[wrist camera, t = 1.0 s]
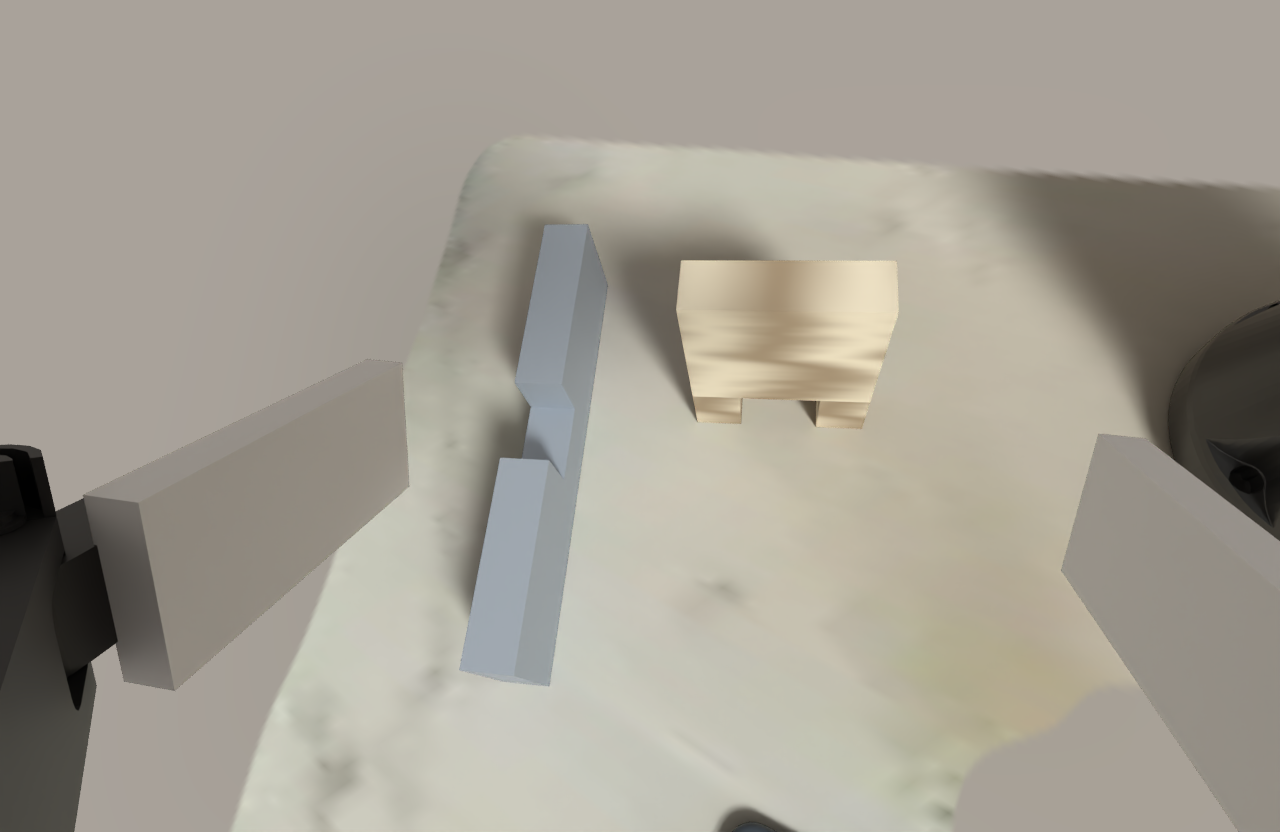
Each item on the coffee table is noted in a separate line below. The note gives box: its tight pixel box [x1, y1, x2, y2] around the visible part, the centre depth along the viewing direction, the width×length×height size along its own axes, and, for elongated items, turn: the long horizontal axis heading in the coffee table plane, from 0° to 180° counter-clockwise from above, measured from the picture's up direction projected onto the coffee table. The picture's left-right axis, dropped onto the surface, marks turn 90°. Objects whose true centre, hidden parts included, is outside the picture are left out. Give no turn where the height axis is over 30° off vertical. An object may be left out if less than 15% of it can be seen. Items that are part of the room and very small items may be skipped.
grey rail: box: [459, 224, 608, 686], centre depth 40 cm, size 2×24×6 cm, turn 174°
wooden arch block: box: [676, 260, 899, 429], centre depth 37 cm, size 9×2×12 cm, turn 84°
